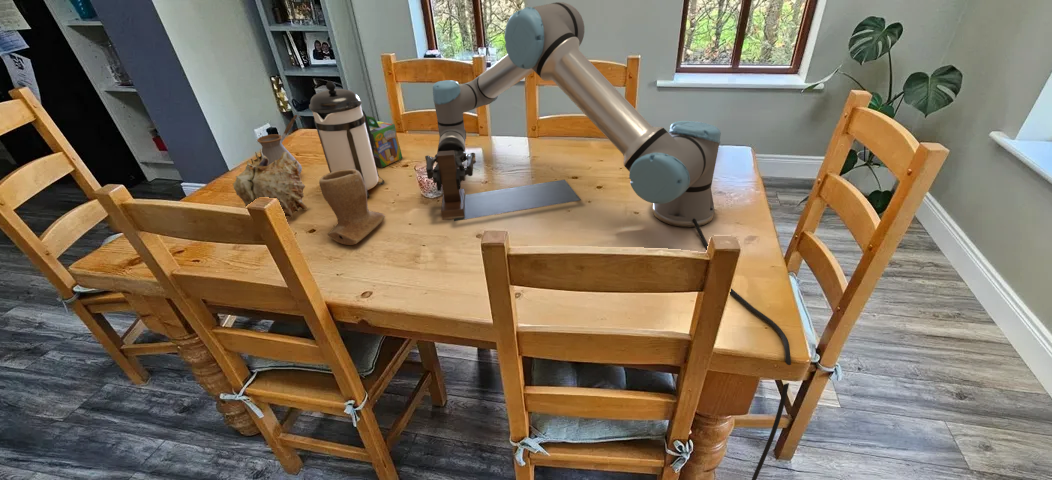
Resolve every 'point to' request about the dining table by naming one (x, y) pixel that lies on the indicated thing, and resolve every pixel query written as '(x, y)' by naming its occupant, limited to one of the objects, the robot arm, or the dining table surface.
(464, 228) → the dining table surface
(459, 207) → the brown upright slab stand
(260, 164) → the seashell
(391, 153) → the chalk box
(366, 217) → the clay platform pipe
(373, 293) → the dining table surface
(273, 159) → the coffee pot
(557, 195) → the slate board
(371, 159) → the coffee press
